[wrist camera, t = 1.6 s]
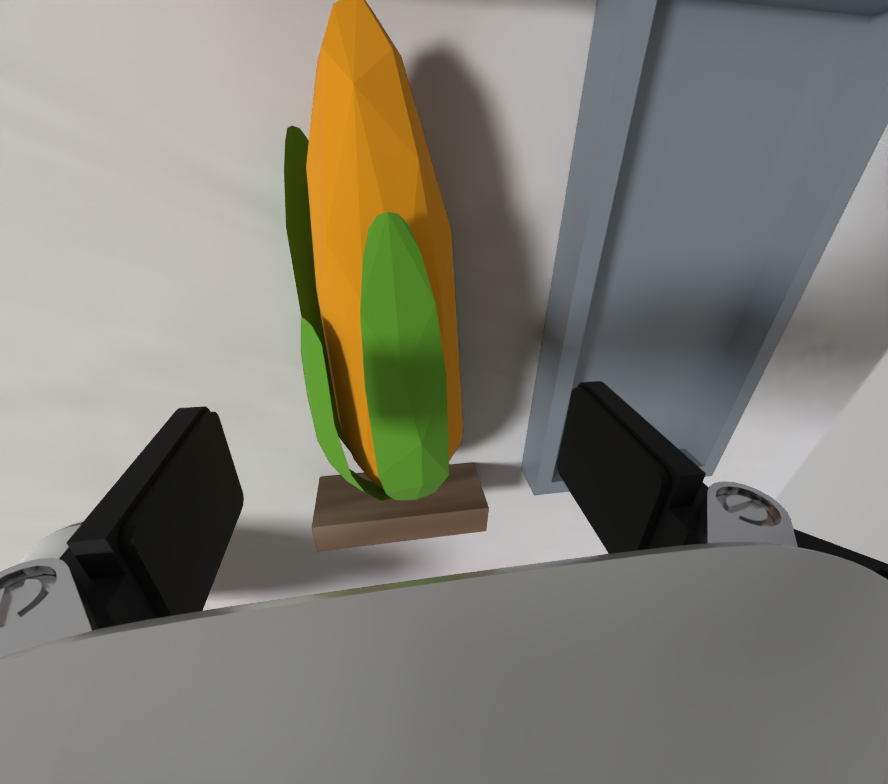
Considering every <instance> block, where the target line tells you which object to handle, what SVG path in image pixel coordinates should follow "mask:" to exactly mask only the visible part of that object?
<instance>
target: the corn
mask: <svg viewBox="0 0 888 784" xmlns="http://www.w3.org/2000/svg"><path fill="white" fill-rule="evenodd" d="M284 180H285V208H286V229H287V235H288V241H289V247H290V252H291V258H292V264H293V270H294V276H295V282H296V287H297V293H298V299H299V305H300V311H301V316H302V318H301V356H302V363H303V370H304V377H305V384H306V391H307V396H308V401H309V405H310V409H311V414H312V418H313V422H314V427H315V431H316V436H317V440H318V442H319V444H320V446H321V448H322V450H323V452H324V453H325V455H326V457H327V459H328V461H329V463H330V464H331V465H332V466H333V467H334V468H335V469H336V470H337V471H338V472H339V473H340V474H341V475H342V476H343V478H344V479H345V480H346V481H347V482H349V483H351V484H352V485H354V486H355V487H357V488H359V489H360V490H362V491H363V492H365V493H367V494H369V495H371V496H372V497H374V498H376V499H378V500H380V501H384V500H388V499H392V498H393V499H394V500H417V499H420V498H422V497H425V496H427V495H430V494H432V493H435V492H436V491H437V490H438V488H439V487H440V486H441V485H442V483H443V482H444V481H445V479H446V478H447V477H448V476H449V461H450V459H451V457H452V456H453V454H454V453H455V451H456V450H457V448H458V447H459V445H460V444H461V441H462V436H463V415H462V398H461V381H460V364H459V347H458V331H457V314H456V297H455V280H454V263H453V246H452V230H451V227H450V223H449V220H448V216H447V213H446V209H445V206H444V202H443V199H442V196H441V192H440V189H439V185H438V182H437V178H436V175H435V171H434V168H433V164H432V161H431V157H430V154H429V151H428V147H427V144H426V140H425V137H424V133H423V130H422V126H421V123H420V119H419V116H418V112H417V109H416V106H415V102H414V99H413V95H412V92H411V88H410V85H409V81H408V78H407V74H406V71H405V67H404V64H403V61H402V57H401V55H400V54H399V52H398V50H397V49H396V47H395V46H394V44H393V42H392V41H391V39H390V38H389V36H388V35H387V33H386V31H385V30H384V28H383V27H382V25H381V23H380V22H379V20H378V19H377V17H376V15H375V14H374V12H373V11H372V9H371V8H370V7H369V5H368V4H367V2H366V1H365V0H339V1H337V2H336V3H334V4H333V7H332V11H331V14H330V18H329V21H328V25H327V29H326V32H325V36H324V40H323V43H322V47H321V50H320V54H319V58H318V61H317V70H316V80H315V89H314V98H313V107H312V117H311V126H310V135H309V141H308V139H307V138H306V136H305V135H304V134H303V132H302V131H301V129H300V128H297V127H294V126H290V127H288V128H287V134H286V140H285V161H284ZM338 436H339V437H338ZM339 438H340V439H341V440H342V442H343V443H344V444H345V445H346V447H347V448H348V449H349V451H350V452H351V453H352V456H353V458H354V460H355V461H356V462H357V464H358V465H359V466H360V468H361V469H362V470H363V471H364V473H365V474H366V475H367V476H368V477H369V478H370V479H371V480H372V481H373V482H371V481H369V480H366V479H363V478H362V477H360V476H359V475H357V474H356V473H355V472H353V471H352V470H350V469H349V467H348V464H347V461H346V458H345V455H344V452H343V449H342V446H341V443H340V440H339Z"/></svg>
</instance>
